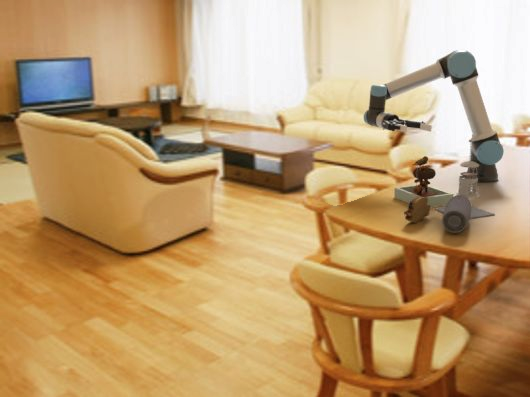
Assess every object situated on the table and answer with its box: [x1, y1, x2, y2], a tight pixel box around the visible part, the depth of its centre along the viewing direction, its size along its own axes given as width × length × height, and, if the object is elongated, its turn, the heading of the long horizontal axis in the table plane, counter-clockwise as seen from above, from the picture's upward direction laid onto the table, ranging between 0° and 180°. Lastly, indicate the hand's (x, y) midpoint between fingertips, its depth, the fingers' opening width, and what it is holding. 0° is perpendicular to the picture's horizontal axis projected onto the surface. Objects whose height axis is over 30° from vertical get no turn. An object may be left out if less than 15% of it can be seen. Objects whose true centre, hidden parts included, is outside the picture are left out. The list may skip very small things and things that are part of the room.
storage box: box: [393, 184, 455, 208], centre depth 250 cm, size 15×20×4 cm
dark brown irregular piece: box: [411, 155, 437, 197], centre depth 249 cm, size 15×11×20 cm
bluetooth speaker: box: [441, 194, 472, 234], centre depth 213 cm, size 23×9×10 cm, turn 157°
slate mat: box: [434, 205, 495, 220], centre depth 232 cm, size 16×16×1 cm
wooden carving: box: [403, 196, 432, 224], centre depth 221 cm, size 16×5×10 cm, turn 141°
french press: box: [455, 139, 480, 199], centre depth 256 cm, size 10×12×25 cm
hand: (418, 128), depth 250 cm, fingers open, 13 cm apart
